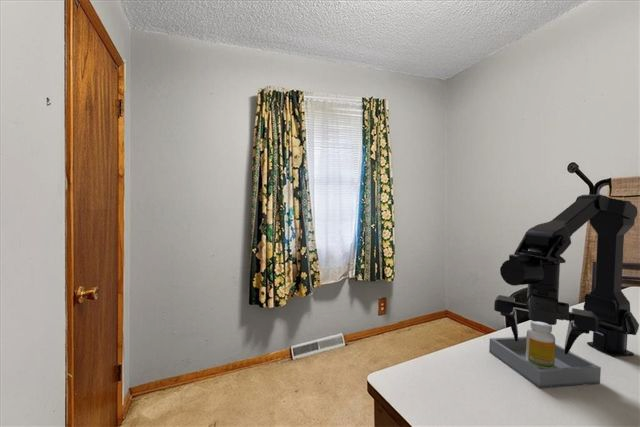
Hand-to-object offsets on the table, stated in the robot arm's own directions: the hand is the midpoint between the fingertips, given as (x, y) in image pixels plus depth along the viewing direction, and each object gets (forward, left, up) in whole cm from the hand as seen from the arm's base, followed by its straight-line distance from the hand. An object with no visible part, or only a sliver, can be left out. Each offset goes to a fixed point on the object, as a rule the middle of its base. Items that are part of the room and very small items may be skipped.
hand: (540, 347), depth 67 cm
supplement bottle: (0, 0, -4) cm, 4 cm away
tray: (0, 0, -5) cm, 5 cm away
